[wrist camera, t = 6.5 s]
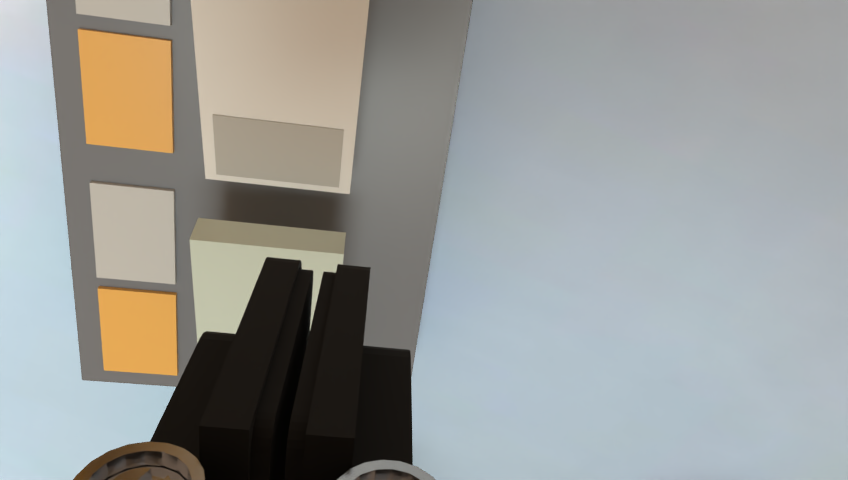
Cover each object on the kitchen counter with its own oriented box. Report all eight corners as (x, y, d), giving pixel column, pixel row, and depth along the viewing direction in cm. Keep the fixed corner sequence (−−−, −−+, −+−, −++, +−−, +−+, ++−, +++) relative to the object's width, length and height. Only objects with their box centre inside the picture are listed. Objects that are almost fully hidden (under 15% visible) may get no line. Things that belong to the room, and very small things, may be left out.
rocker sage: (345, 232, 23) (343, 255, 22) (329, 398, 29) (326, 423, 28) (197, 217, 23) (189, 240, 22) (209, 390, 28) (202, 415, 27)
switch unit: (470, -84, 25) (492, -84, 21) (403, 351, 34) (408, 422, 29) (83, -146, 24) (9, -161, 19) (114, 328, 32) (69, 399, 28)
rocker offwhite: (377, -82, 19) (376, -66, 18) (351, 173, 25) (349, 195, 24) (193, -111, 18) (181, -96, 17) (212, 158, 24) (205, 180, 23)
